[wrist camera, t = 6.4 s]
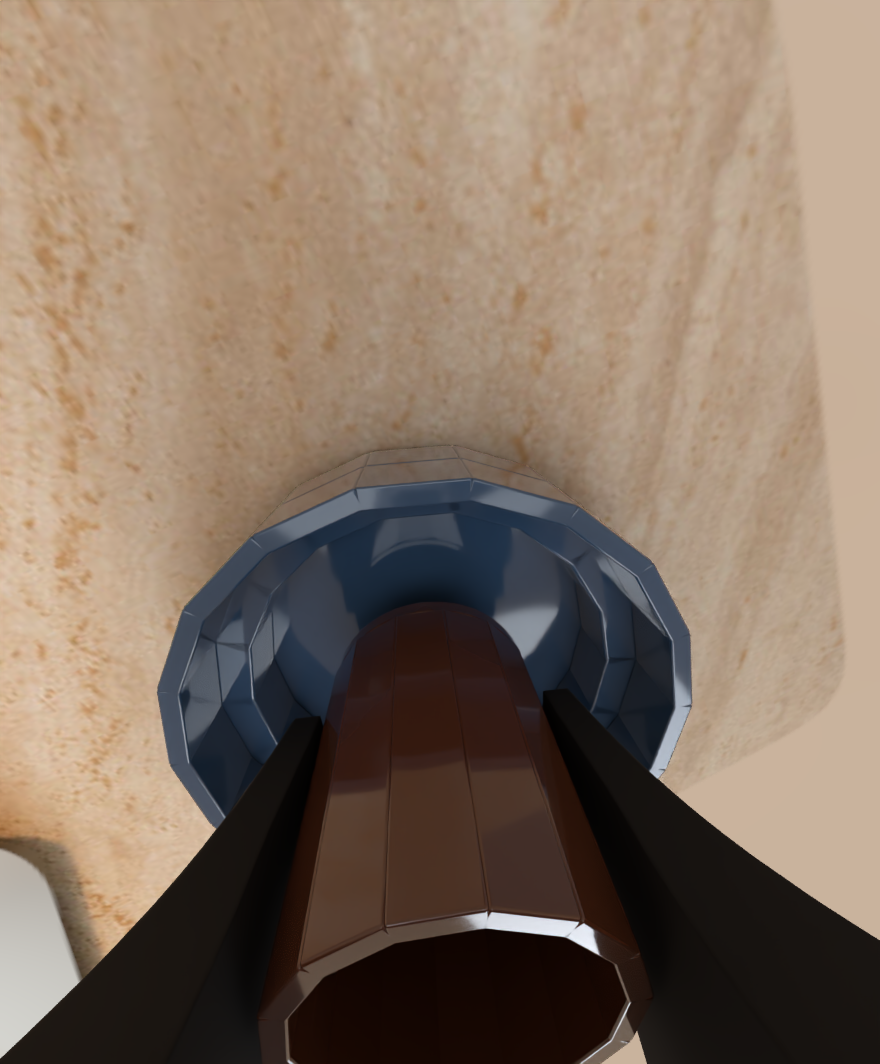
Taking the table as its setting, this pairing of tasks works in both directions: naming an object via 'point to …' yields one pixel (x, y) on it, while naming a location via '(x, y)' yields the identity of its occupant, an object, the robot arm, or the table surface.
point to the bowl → (407, 578)
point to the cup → (446, 870)
